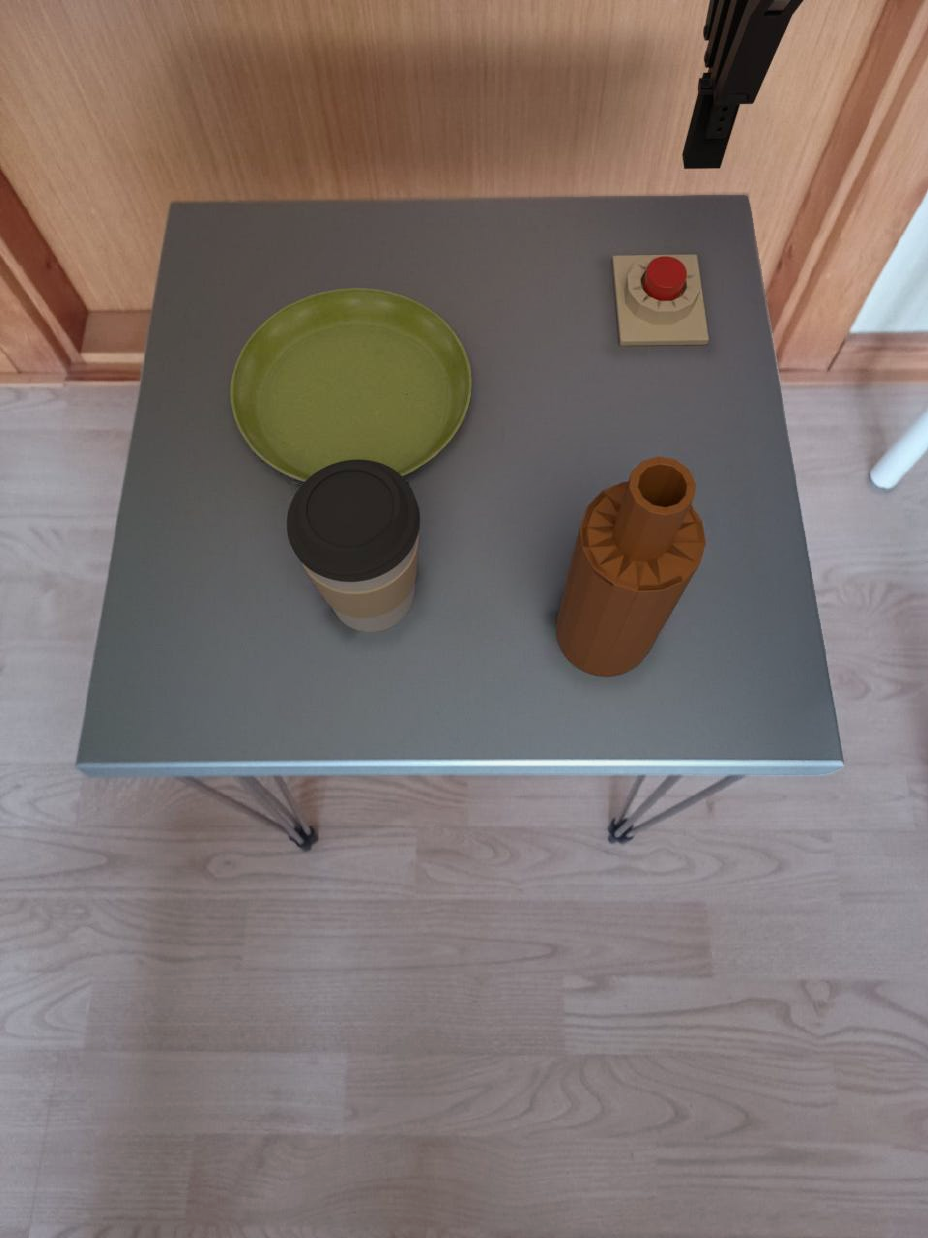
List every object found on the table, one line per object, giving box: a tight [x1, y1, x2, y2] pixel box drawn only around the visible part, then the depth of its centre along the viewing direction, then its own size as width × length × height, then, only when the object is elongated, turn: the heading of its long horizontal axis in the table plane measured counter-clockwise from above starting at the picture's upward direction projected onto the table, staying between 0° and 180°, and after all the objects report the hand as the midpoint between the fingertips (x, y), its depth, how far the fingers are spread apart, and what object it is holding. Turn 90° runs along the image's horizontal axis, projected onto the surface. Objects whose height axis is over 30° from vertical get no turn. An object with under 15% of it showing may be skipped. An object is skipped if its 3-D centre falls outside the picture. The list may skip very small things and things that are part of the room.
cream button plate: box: [611, 253, 710, 347], centre depth 80 cm, size 10×8×2 cm
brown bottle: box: [555, 456, 707, 678], centre depth 59 cm, size 8×8×23 cm
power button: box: [643, 256, 687, 301], centre depth 78 cm, size 4×4×2 cm
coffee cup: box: [286, 459, 421, 633], centre depth 64 cm, size 9×9×15 cm
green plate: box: [229, 287, 472, 483], centre depth 76 cm, size 21×21×3 cm
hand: (701, 160), depth 65 cm, fingers closed
